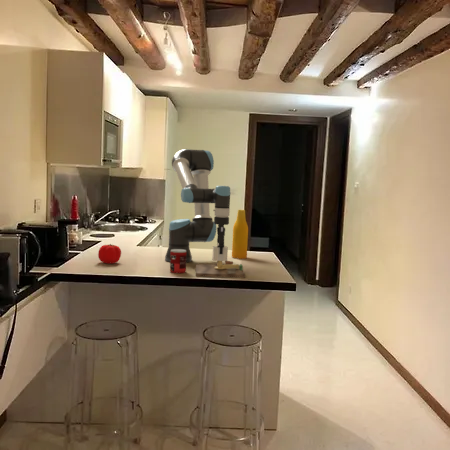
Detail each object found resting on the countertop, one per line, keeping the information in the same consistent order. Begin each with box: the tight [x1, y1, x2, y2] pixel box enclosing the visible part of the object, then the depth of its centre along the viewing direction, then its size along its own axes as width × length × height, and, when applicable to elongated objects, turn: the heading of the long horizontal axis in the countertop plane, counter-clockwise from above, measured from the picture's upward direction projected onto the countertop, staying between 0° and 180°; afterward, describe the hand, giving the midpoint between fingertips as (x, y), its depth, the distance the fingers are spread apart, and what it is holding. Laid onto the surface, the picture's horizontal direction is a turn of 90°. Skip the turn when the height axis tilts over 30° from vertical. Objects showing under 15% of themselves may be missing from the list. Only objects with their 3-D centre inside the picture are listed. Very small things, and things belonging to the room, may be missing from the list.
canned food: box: [169, 249, 187, 274], centre depth 236 cm, size 8×8×11 cm
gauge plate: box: [195, 260, 246, 279], centre depth 240 cm, size 24×24×4 cm
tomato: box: [97, 243, 122, 265], centre depth 251 cm, size 12×12×10 cm
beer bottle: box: [231, 209, 249, 260], centre depth 284 cm, size 9×9×29 cm
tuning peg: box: [212, 245, 240, 269], centre depth 241 cm, size 5×14×11 cm, turn 102°
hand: (219, 258), depth 240 cm, fingers open, 13 cm apart
